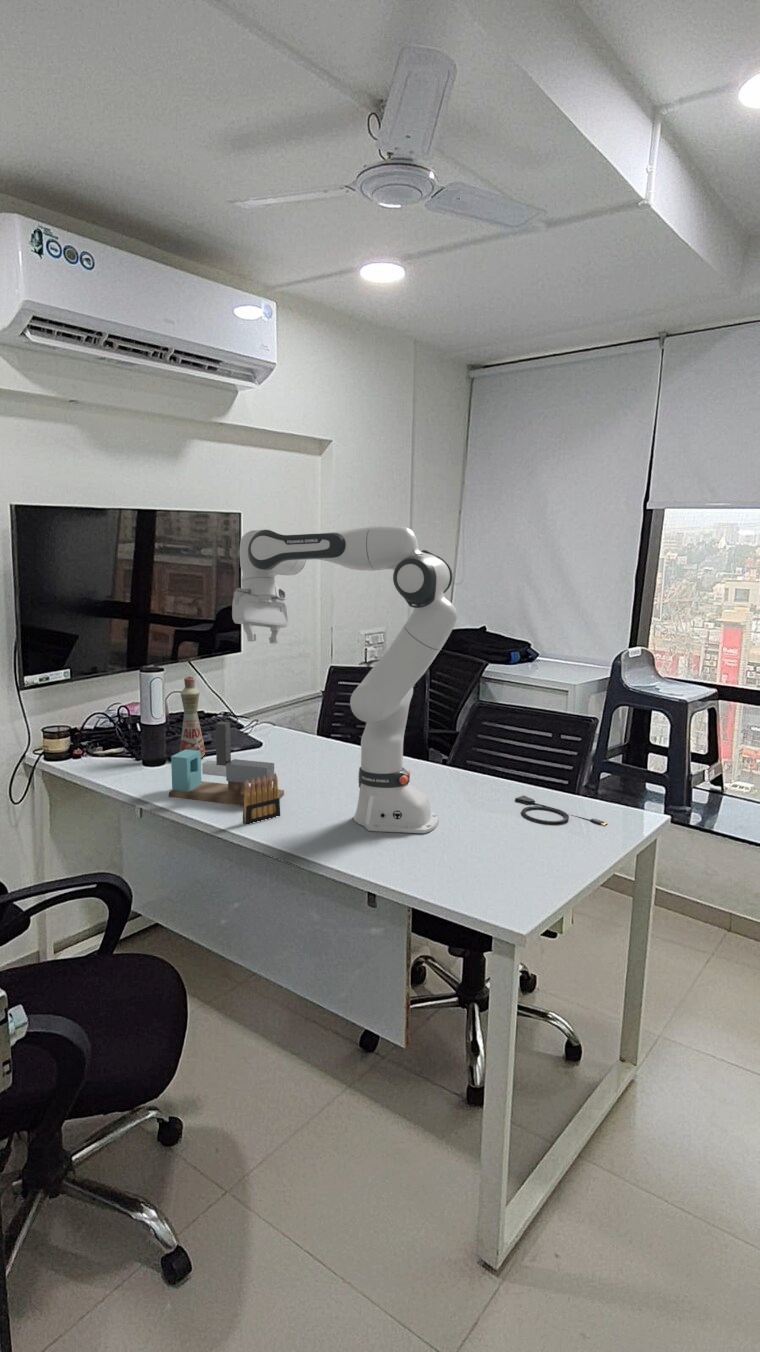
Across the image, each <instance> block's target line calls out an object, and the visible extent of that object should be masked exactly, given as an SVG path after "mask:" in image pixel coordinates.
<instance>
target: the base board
mask: <svg viewBox="0 0 760 1352" xmlns="http://www.w3.org/2000/svg"><path fill="white" fill-rule="evenodd" d="M266 786H267V785H266ZM250 788H251V785H249V790H250ZM261 789H262V785H261ZM255 792H256V784H255ZM244 793H245V783H242V782H233V781H227V783H221V782H212V781H211V782H209V781H205V780H204V781H203V780H201V784H200V785H198V786H197V787H195V788H193V789H192V790H190V791H188V792H185V791H176V790H172V789H171V790H170V791H168V798H173V799H180V800H181V799H182V800H189V801H190V800H191V801H198V802H205V803H216V804H222V805H223V804H225V805H233V806H242V807H243V804H244ZM283 795H284V796H285V790H284V789H279V798H280V799H281V798H282V797H284V796H283Z"/></svg>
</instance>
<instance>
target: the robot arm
mask: <svg viewBox="0 0 760 1352" xmlns="http://www.w3.org/2000/svg"><path fill="white" fill-rule="evenodd" d="M308 560H316V561H317V560H318V561H320V560H321V561H324V562H329V563H333V564H335V565H339V566H342V567H344V568H346V569H350V570H357V571H368V572H369V571H371V572H373V571H382V570H392V571H393V574H392V580H393V586H394V588H395V589H396V591H397V592H398V593H399V595H400V596H401V597H403V599H404V600H405V602H406V603H407V604H408V606H409V607H410V608H413V611H412V613H411V614H410V616H409V618H408V619H407V621H406V622H405V624H404V625H403V627H402V628H401V630H400V631H399V633H398V635H397V636H396V637H395V638H394V640H393V642H392V643H391V645H390V646H389V648H388V649H387V651H386V652H385V653H384V654H383V655H382V656H381V657H380V659H379V660H378V661H377V662H376V663H375V665H374V666H373V667H372V668H371V669H370V670H369V671H368V673H367V674H366V676H365V677H364V678H363V680H362V681H361V682H360V684H358V686H357V687H356V688H355V689H354V690H353V692H352V693H351V696H350V700H349V707H350V710H351V712H352V713H353V716H354V717H356V718H357V719H358V720H360V721H361V722H364V723H365V727H364V729H363V733H362V736H361V739H360V766H359V768H358V787H359V793H358V801H357V806H356V810H355V813H354V817H353V818H354V821H355V822H356V823H357V824H359V825H361V826H363V827H364V828H365V829H366V831H367V830H368V831H369V832H386V833H387V832H389V833H405V834H407V833H408V834H409V833H410V834H427V833H430V832H431V831H433V830H434V829H435V828H436V827H437V826H438V825H439V820H440V819H439V815H438V814H437V813H436V812H434V811H431V804H430V801H429V797H428V796H427V794H425V793H424V792H422V791H421V790H420V789H418V788H417V787H416V786H415V785H413V783H411V782H410V781H411V779H410V777H411V776H410V775H411V769H409V770H407V769H405V768H404V767H403V761H404V760H403V757H404V740H405V738H404V737H405V731H406V726H407V721H408V717H409V716H408V715H409V711H410V710H409V709H410V704H411V701H412V698H413V695H414V686H415V685H416V683H418V681H419V680H420V679H421V678H422V676H424V674H426V672H427V671H428V669H429V668H430V666H431V665H432V663H433V662H434V660H435V659H436V657H437V655H438V654H439V653H440V651H441V650H442V648H443V647H444V645H445V644H446V642H447V640H448V638H449V637H450V635H451V634H452V631H453V629H454V627H455V625H456V622H457V619H458V611H457V609H456V607H455V606H454V605H453V603H452V602H451V601H450V600H448V599H447V598H446V597H445V593H446V592H447V591H448V590H449V589H450V587H451V585H452V582H453V577H454V576H453V575H454V573H453V570H452V568H451V566H450V564H449V563H448V562H447V561H446V560H444V559H443V557H440V556H438V555H436V554H434V553H432V552H430V551H428V550H426V549H423V550H420V549H419V543H418V539H417V537H416V534H415V533H414V531H413V530H412V529H410V528H409V527H406V526H401V525H373V526H363V527H356V528H351V529H345V530H339V531H337V530H336V531H332V532H323V533H307V534H306V533H305V534H304V533H303V534H287V535H286V534H280V533H278V532H275V531H273V530H270V529H256V530H250V531H248V532H246V533H245V534H243V536H242V537H241V538H240V542H239V565H240V569H241V575H242V576H241V587H238V588H237V587H236V589H235V590H234V592H233V598H232V604H231V605H232V606H231V608H232V609H231V610H232V611H231V616H232V621H233V623H234V624H239V625H242V627H243V631H244V632H245V634H246V638H247V642H249V643H250V642H251V643H252V642H256V641H257V635H256V633H255V632H254V631H253V628H254V626H255V627H263V628H264V627H265V628H269V629H270V632H271V635H270V637H268V640H269V642H268V643H269V644H273V645H275V644H278V641H279V640H278V637H279V635H280V631H281V630H280V629H283V628H284V629H285V628H287V627H288V625H289V611H288V604H287V602H286V600H287V599H288V593H287V592H286V591H285V590H284V589H282V588H281V587H280V586H278V585H277V584H276V582H275V581H276V580H275V577H276V576H295V575H297V574H299V573H300V572H302V570H303V569H304V567H305V565H306V561H308Z"/></svg>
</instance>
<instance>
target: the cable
mask: <svg viewBox="0 0 760 1352" xmlns="http://www.w3.org/2000/svg"><path fill="white" fill-rule="evenodd" d="M514 801H515V802H516V803H519V804H523V805H527V806H526V807H523V809H521V812H520V814H521V816H522V817H523V818H525V819H528V820H530V821H532V822H537V823H540V824H545V825H562V824H565V823H568V821H569V819H570V816H572V817H576V818H579V819H582V820H586V821H589V822H590V823H592V824H595V825H598V826H603V827H606V826H607V825H608V822H605V821H602V820H600V819H597V818H589V819H588V818H586V817H581V816H578V815H572V814H569V813H567V812H566V811H564V810H561V809H559V808H556V807H552V806H548V805H544V804H540V803H536V800H534V798H530V797H528V796H526V795H521V796H517V797H514ZM528 805H531V806H528ZM535 810H537V811H548V812H552V813H555V814H558V815H560V816H562V817H563V818H562V819H560V820H546V819H545V820H543V819H539V818H535V817H532V816H530V815H528V814H527V812H530V811H535Z"/></svg>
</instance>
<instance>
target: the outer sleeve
mask: <svg viewBox="0 0 760 1352" xmlns="http://www.w3.org/2000/svg"><path fill="white" fill-rule="evenodd" d="M269 774H270V775H271V778H272V782H273V778H274V774H275V762H267V761H256V760H248V759H236V758H235V759H234V758H233V759H231V761H230V762H228V763H227V764H226V777H225V779H226V782H228V781H233V782H242V783H245V782H246V779H247V780H248V782H249V784H251V780H252V778H253V779H254V782H255V784H256V782H257V778H258V777H259V778H260V783H261V785H262V779H263V776H265V778H266V785H268V776H269Z"/></svg>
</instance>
